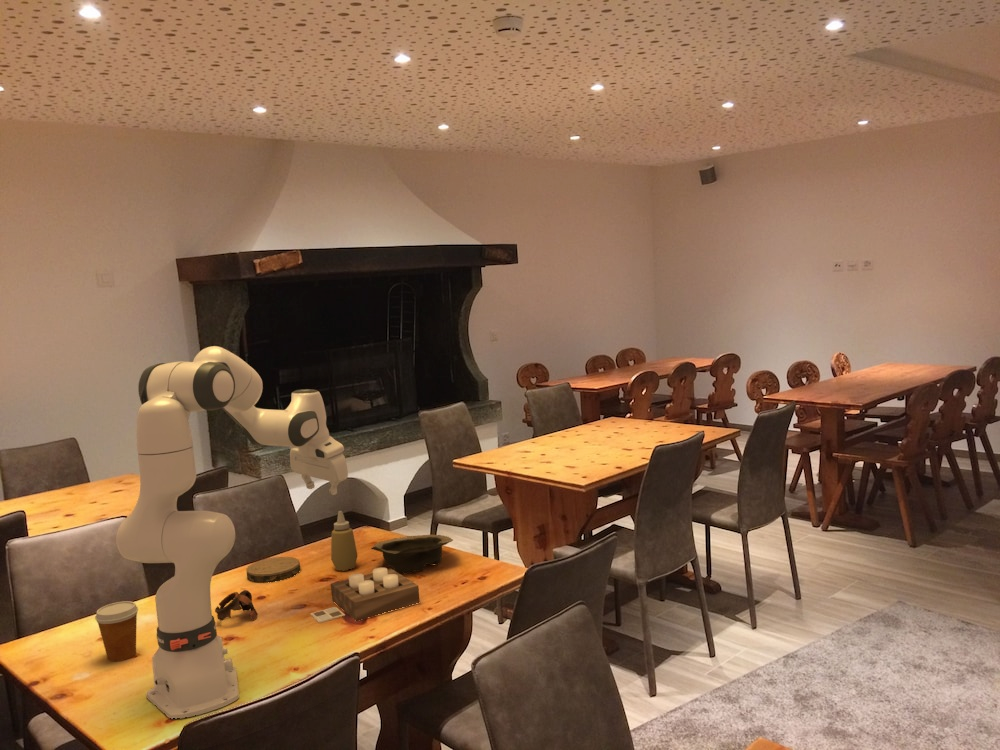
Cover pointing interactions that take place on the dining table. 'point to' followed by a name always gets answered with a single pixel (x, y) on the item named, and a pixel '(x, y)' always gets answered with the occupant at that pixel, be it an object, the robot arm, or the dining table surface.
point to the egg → (355, 580)
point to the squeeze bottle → (343, 545)
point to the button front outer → (390, 581)
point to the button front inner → (366, 587)
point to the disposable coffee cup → (118, 629)
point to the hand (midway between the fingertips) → (322, 491)
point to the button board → (374, 597)
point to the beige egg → (379, 574)
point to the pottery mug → (236, 605)
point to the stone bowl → (412, 551)
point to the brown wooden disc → (273, 569)
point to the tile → (327, 614)
